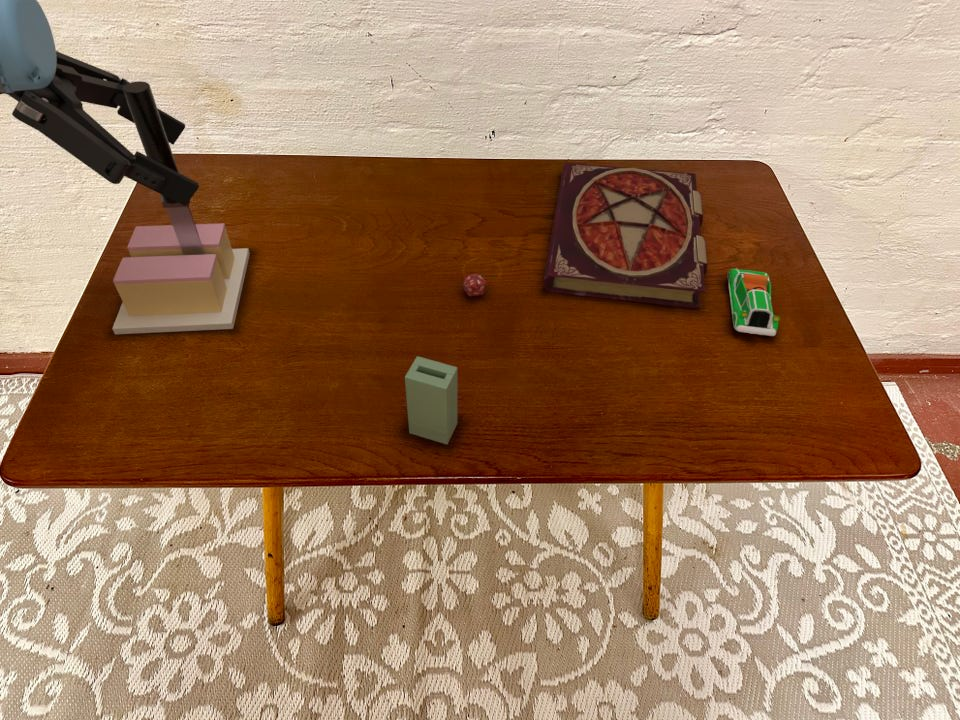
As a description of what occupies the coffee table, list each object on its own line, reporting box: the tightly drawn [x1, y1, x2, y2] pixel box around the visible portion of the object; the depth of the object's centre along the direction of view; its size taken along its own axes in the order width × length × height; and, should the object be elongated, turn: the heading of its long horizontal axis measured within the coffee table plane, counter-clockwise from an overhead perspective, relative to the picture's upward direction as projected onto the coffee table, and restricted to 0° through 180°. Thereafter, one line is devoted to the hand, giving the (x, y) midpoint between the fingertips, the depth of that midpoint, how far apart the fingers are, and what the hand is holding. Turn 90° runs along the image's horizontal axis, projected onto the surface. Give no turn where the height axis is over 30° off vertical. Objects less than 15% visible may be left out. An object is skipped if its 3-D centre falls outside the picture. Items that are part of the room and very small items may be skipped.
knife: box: [123, 80, 205, 255], centre depth 78 cm, size 3×3×26 cm
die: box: [462, 273, 487, 297], centre depth 88 cm, size 3×3×3 cm
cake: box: [111, 222, 251, 335], centre depth 86 cm, size 15×14×7 cm
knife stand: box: [404, 355, 459, 445], centre depth 71 cm, size 3×4×9 cm
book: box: [542, 162, 708, 310], centre depth 97 cm, size 28×21×5 cm
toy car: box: [726, 267, 781, 337], centre depth 87 cm, size 12×5×4 cm, turn 170°
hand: (185, 163), depth 76 cm, fingers open, 13 cm apart
